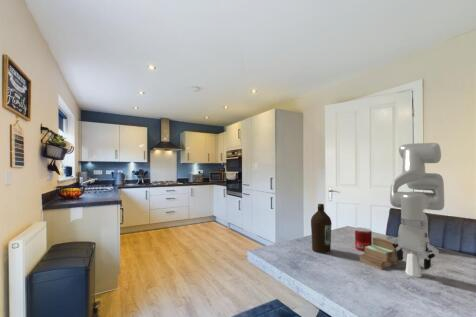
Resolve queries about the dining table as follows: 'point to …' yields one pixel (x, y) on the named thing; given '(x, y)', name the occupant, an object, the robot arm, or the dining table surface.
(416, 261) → the pepper shaker
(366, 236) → the canned food
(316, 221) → the olive oil
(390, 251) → the stand
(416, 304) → the dining table surface
